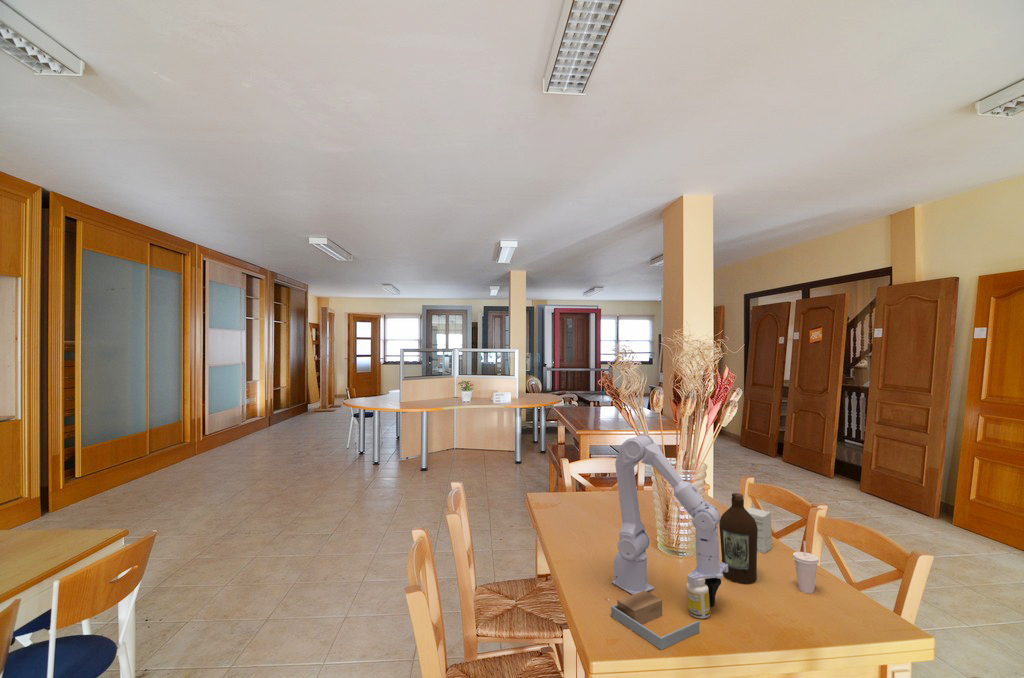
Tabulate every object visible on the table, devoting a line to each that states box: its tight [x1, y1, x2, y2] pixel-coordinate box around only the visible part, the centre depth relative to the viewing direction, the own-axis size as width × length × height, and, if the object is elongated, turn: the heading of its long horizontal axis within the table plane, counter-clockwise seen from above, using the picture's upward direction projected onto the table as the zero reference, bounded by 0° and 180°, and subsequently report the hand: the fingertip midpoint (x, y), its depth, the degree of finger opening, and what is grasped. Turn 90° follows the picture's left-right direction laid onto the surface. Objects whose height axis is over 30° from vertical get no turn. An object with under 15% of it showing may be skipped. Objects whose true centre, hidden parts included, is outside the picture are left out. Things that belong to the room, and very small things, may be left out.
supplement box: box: [746, 507, 773, 554], centre depth 165 cm, size 7×7×13 cm
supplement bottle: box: [686, 572, 711, 619], centre depth 123 cm, size 5×5×10 cm
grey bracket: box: [610, 604, 700, 651], centre depth 118 cm, size 16×14×2 cm
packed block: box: [617, 590, 663, 625], centre depth 122 cm, size 6×10×4 cm, turn 121°
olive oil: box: [718, 492, 758, 585], centre depth 144 cm, size 11×11×25 cm
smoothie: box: [792, 540, 820, 594], centre depth 135 cm, size 6×6×14 cm
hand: (709, 605), depth 125 cm, fingers closed
